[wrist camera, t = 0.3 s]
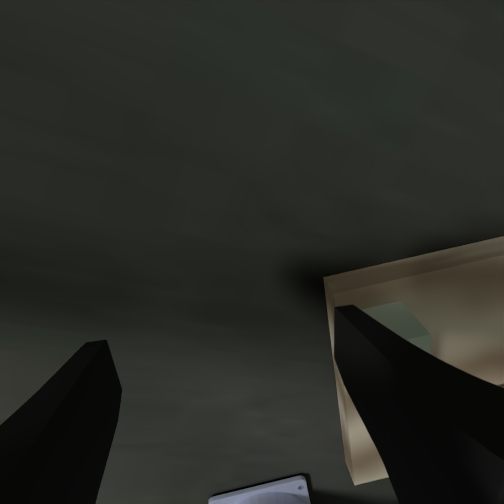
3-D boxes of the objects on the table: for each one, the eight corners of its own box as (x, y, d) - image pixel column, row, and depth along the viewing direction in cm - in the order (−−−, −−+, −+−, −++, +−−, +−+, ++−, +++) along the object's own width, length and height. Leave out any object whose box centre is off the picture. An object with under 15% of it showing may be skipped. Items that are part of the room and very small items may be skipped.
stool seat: (526, 416, 31) (547, 437, 29) (345, 461, 30) (354, 485, 29) (563, 222, 23) (594, 234, 22) (323, 277, 23) (333, 294, 21)
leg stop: (401, 376, 24) (428, 416, 21) (348, 389, 24) (368, 431, 21) (400, 300, 22) (431, 334, 19) (340, 314, 22) (362, 350, 19)
